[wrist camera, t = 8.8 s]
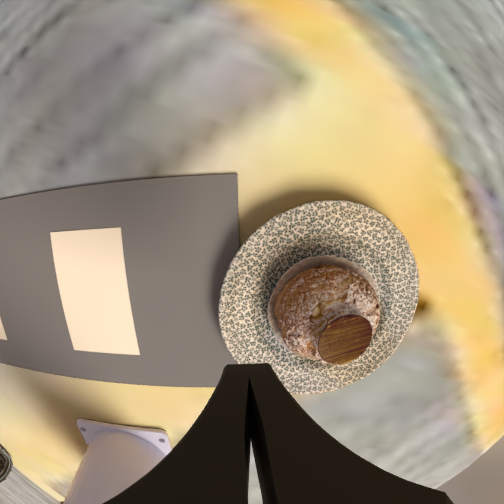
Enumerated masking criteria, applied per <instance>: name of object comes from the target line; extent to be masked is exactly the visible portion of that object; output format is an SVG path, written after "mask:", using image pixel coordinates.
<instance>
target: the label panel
mask: <svg viewBox="0 0 504 504" xmlns="http://www.w3.org/2000/svg"><path fill="white" fill-rule="evenodd" d="M238 250H239V221H238V183H237V174H222V175H200V176H183V177H168V178H155V179H143V180H133V181H123V182H113V183H104V184H96V185H88V186H80V187H73V188H66V189H59V190H53V191H46V192H40V193H34V194H29V195H23V196H18V197H12V198H7V199H2V200H0V363H4V364H8V365H12V366H16V367H21V368H25V369H30V370H34V371H39V372H45V373H50V374H56V375H61V376H67V377H74V378H81V379H88V380H96V381H104V382H113V383H124V384H136V385H150V386H170V387H217V385H218V382H219V380H220V378H221V375H222V373H223V369H224V367H225V366H226V365H227V364H238V363H237V362H236V361H235V359H234V358H233V357H232V355H231V354H230V353H229V351H228V349H227V347H226V345H225V343H224V340H223V337H222V334H221V330H220V326H219V315H218V307H219V300H220V292H221V287H222V283H223V280H224V277H225V275H226V273H227V270H228V268H229V266H230V263H231V261H232V260H233V258H234V256H235V255H236V253H237V251H238Z"/></svg>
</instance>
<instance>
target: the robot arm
mask: <svg viewBox="0 0 504 504" xmlns="http://www.w3.org/2000/svg"><path fill="white" fill-rule="evenodd" d="M76 424H77V426H78V428H79V430H80V432H81V434H82V436H83V438H84V440H85V442H86V444H87V445H88V448H87V450H86V452H85V455H84V457H83V459H82V461H81V463H80V466H79V468H78V470H77V472H76V475H75V477H74V479H73V481H72V484H71V486H70V488H69V491H68V493H67V496H66V498H65V500H64V503H63V504H248V483H249V463H250V442H252V448H253V453H254V458H255V463H256V469H257V474H258V479H259V484H260V489H261V494H262V500H263V504H453V502H452V501H451V500H450V499H449V497H448V496H447V495H446V493H445V492H442V491H438V490H435V489H432V488H428V487H425V486H422V485H419V484H416V483H413V482H410V481H407V480H405V479H402V478H400V477H398V476H395V475H393V474H391V473H389V472H387V471H384V470H382V469H381V468H379V467H377V466H375V465H374V464H372V463H370V462H368V461H367V460H365V459H363V458H361V457H360V456H358V455H356V454H355V453H353V452H352V451H351V450H349V449H348V448H346V447H345V446H344V445H342V444H341V443H339V442H338V441H337V440H336V439H334V438H333V437H332V436H331V435H329V434H328V433H327V432H326V431H325V430H324V429H322V428H321V427H320V426H319V425H318V424H317V423H316V422H315V421H314V420H313V419H312V418H311V417H310V416H309V415H308V414H307V413H306V412H305V411H304V410H303V409H302V407H301V406H300V405H299V404H298V403H297V402H296V400H295V399H294V398H293V397H292V396H291V394H290V393H289V392H288V391H287V389H286V388H285V387H284V385H283V384H282V382H281V381H280V380H279V378H278V377H277V375H276V373H275V372H274V370H273V368H272V366H271V365H270V364H269V363H254V364H227V365H226V366H225V367H224V369H223V373H222V375H221V378H220V380H219V382H218V385H217V387H216V389H215V391H214V392H213V394H212V396H211V398H210V399H209V401H208V403H207V405H206V406H205V408H204V410H203V411H202V412H201V414H200V415H199V417H198V418H197V420H196V421H195V423H194V424H193V425H192V427H191V428H190V429H189V431H188V432H187V433H186V434H185V436H184V437H183V438H182V439H181V440H180V442H179V443H178V444H177V445H176V446H175V447H174V448H173V449H172V447H171V443H170V440H169V437H168V434H167V432H166V431H164V430H162V429H152V428H141V427H132V426H124V425H117V424H110V423H103V422H97V421H92V420H86V419H81V418H79V419H78V420H77V421H76ZM161 438H162V439H161Z"/></svg>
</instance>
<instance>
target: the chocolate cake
mask: <svg viewBox="0 0 504 504" xmlns="http://www.w3.org/2000/svg"><path fill="white" fill-rule="evenodd" d="M12 465H13V462H12V460H11V457H10V456H9V454H7V453H6V452H5V450H3V449H2V448H1V446H0V482H2V481H4V480H6V478H7V476H8V475H9V473H10V472H11V471H12V470H11V469H12Z"/></svg>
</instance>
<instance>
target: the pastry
mask: <svg viewBox="0 0 504 504" xmlns="http://www.w3.org/2000/svg"><path fill="white" fill-rule="evenodd" d="M418 297H419V273H418V268H417V263H416V261H415V258H414V255H413V253H412V250H411V249H410V246H409V244H408V242H407V240H406V238H405V237H404V235H403V234H402V232H401V231H400V230H399V229H398V228H397V227H396V226H395V225H394V224H393V223H392V222H391V221H390V220H389V219H388V218H387V217H385V216H384V215H383V214H381V213H379V212H378V211H376V210H374V209H373V208H371V207H368V206H366V205H363V204H359V203H356V202H352V201H345V200H331V201H330V200H329V201H327V200H325V201H313V202H309V203H305V204H302V205H300V206H297V207H294V208H292V209H290V210H287V211H285V212H282V213H280V214H278V215H276V216H274V217H272V218H271V219H269V220H268V221H267V222H266V223H265V224H263V225H262V226H260V227H259V228H258V229H257V230H256V231H255V232H253V233H252V234H251V235H250V237H249V238H248V239H247V240H246V241H245V242H244V243H243V245H242V246H241V247H240V248H239V250H238V251H237V253H236V255H235V256H234V258H233V260H232V261H231V263H230V266H229V268H228V270H227V273H226V275H225V277H224V280H223V283H222V287H221V292H220V300H219V307H218V315H219V326H220V330H221V334H222V337H223V340H224V343H225V345H226V347H227V349H228V351H229V353H230V354H231V355H232V357H233V358H234V359H235V361H236V362H237V363H238V364H254V363H269V364H270V365H271V366H272V368H273V370H274V372H275V373H276V375H277V377H278V378H279V380H280V381H281V382H282V384H283V385H284V387H285V388H286V389H287V391H288V392H289V393H293V394H315V393H320V392H327V391H333V390H337V389H340V388H343V387H345V386H347V385H349V384H352V383H354V382H357V381H359V380H361V379H362V378H365V377H366V376H368V375H369V374H371V373H372V372H374V371H375V370H376V369H378V368H379V367H380V366H381V365H382V364H383V363H384V362H385V361H386V360H387V359H388V358H389V357H390V356H391V355H392V354H393V352H394V351H395V350H396V348H397V347H398V345H399V344H400V342H401V341H402V339H403V337H404V336H405V335H406V333H407V331H408V329H409V327H410V325H411V322H412V319H413V316H414V313H415V310H416V306H417V303H418Z"/></svg>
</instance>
